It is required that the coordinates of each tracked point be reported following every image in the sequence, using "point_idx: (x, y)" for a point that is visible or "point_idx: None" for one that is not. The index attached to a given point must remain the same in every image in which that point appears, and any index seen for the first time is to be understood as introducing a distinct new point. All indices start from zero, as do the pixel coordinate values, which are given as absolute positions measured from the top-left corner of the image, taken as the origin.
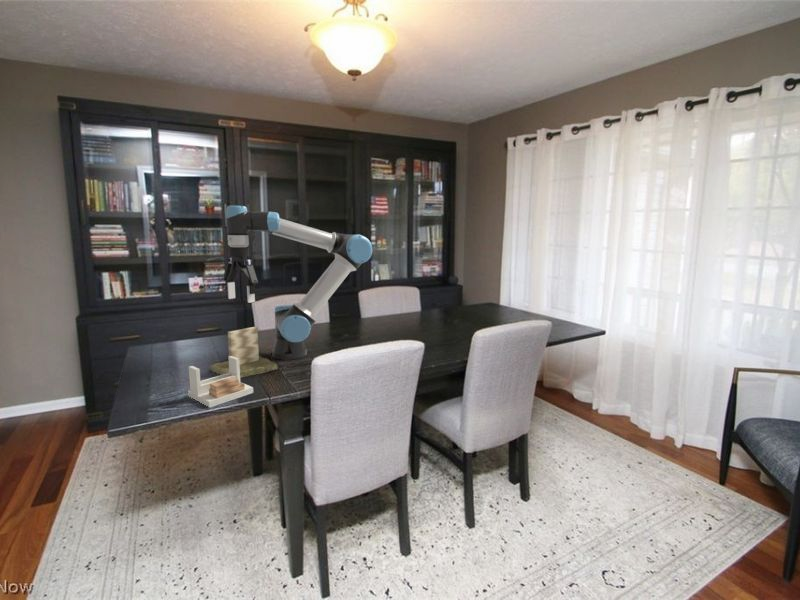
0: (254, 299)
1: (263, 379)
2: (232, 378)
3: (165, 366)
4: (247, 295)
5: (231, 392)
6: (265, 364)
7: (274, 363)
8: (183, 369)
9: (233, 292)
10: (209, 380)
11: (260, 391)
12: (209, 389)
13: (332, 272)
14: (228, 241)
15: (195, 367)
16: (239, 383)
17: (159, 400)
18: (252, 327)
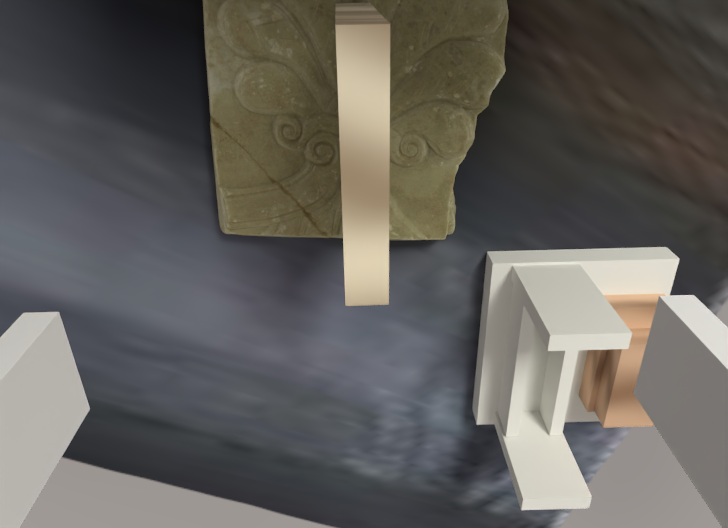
0: (717, 326)
1: (577, 120)
2: (641, 352)
3: None
4: (702, 488)
5: None
6: (478, 24)
7: None
8: (118, 300)
9: (7, 416)
10: (523, 386)
11: (684, 219)
12: (592, 411)
13: None
14: None
15: (557, 498)
16: (651, 316)
17: (421, 468)
18: (352, 68)
